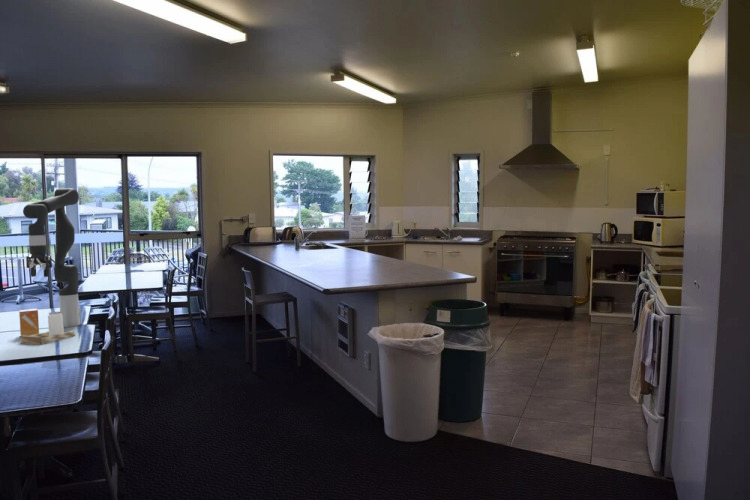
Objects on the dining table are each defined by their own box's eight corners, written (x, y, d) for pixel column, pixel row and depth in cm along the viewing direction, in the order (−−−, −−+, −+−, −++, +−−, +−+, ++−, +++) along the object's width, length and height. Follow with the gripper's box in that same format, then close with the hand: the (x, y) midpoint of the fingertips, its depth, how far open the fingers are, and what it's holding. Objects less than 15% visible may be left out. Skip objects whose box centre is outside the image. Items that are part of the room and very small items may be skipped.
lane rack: (55, 334, 299) (55, 327, 299) (74, 335, 295) (74, 328, 295) (20, 343, 280) (20, 336, 280) (40, 344, 276) (39, 337, 276)
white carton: (49, 338, 288) (47, 314, 287) (49, 336, 294) (47, 312, 293) (63, 336, 291) (62, 312, 290) (64, 334, 297) (62, 311, 296)
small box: (21, 337, 293) (19, 311, 292) (20, 335, 299) (18, 310, 298) (39, 335, 298) (38, 309, 297) (38, 333, 303) (37, 308, 302)
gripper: (54, 243, 294) (57, 276, 296) (33, 243, 299) (35, 275, 300) (42, 244, 287) (44, 277, 288) (20, 244, 292) (22, 277, 293)
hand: (39, 276), depth 294 cm, fingers open, 8 cm apart
